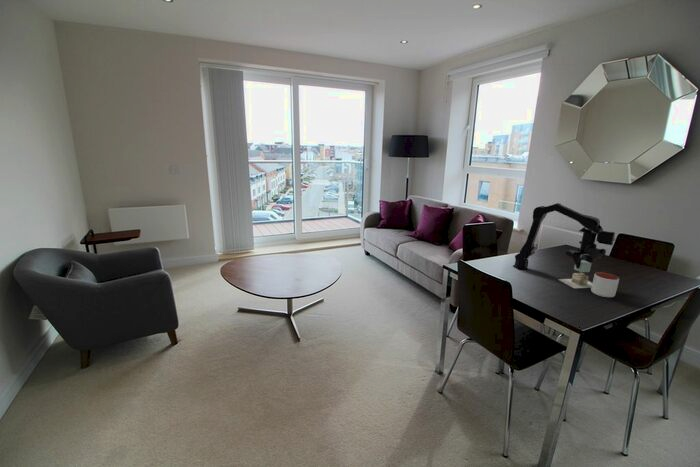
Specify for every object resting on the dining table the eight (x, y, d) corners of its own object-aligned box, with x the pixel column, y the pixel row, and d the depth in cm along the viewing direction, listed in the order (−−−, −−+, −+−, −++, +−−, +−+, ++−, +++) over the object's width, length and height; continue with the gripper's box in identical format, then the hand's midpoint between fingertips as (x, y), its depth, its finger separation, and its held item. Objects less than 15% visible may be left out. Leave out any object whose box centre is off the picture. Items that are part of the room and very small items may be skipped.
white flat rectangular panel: (574, 288, 171) (574, 288, 171) (557, 279, 183) (557, 279, 183) (601, 287, 173) (601, 287, 173) (583, 279, 184) (583, 278, 184)
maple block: (578, 285, 175) (580, 276, 174) (571, 281, 180) (573, 273, 179) (586, 284, 176) (588, 276, 174) (579, 281, 180) (581, 272, 179)
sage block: (581, 272, 173) (583, 263, 172) (573, 268, 178) (575, 260, 177) (589, 272, 174) (591, 263, 172) (582, 268, 178) (584, 260, 177)
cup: (610, 291, 169) (614, 273, 166) (618, 299, 160) (623, 281, 157) (587, 288, 172) (591, 271, 169) (594, 296, 163) (598, 278, 160)
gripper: (584, 245, 163) (578, 274, 167) (617, 245, 165) (610, 273, 169) (567, 239, 173) (562, 266, 177) (599, 239, 175) (592, 266, 180)
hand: (582, 268), depth 176 cm, fingers closed on sage block, 5 cm apart
